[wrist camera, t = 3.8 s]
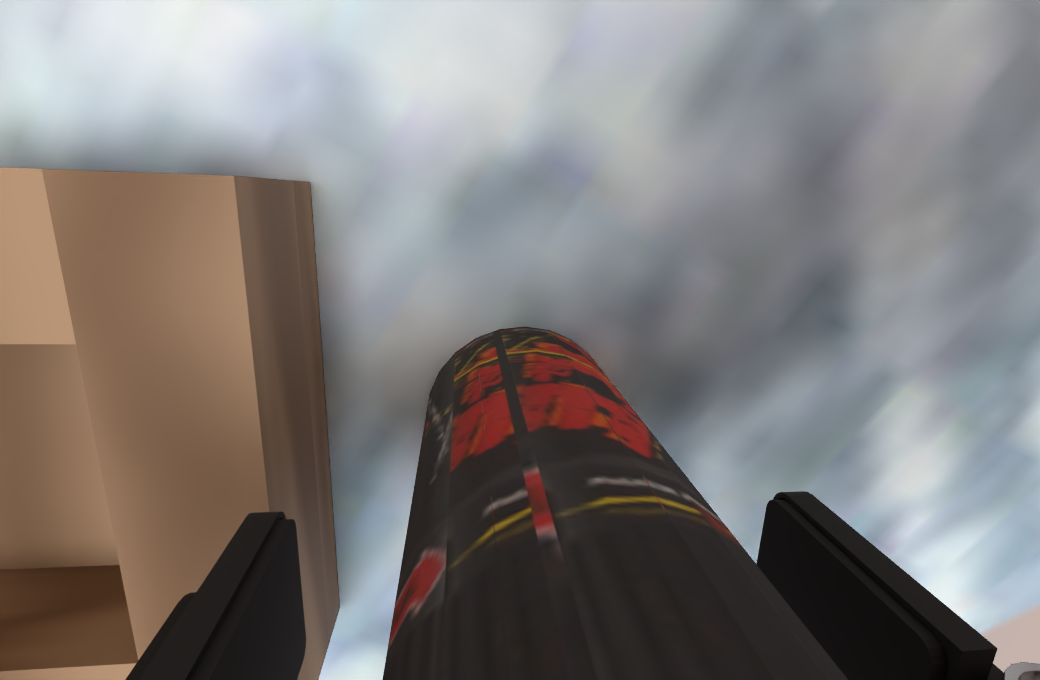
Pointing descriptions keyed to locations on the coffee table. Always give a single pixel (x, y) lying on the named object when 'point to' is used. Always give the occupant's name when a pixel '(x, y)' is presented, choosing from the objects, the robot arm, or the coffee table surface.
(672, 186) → the coffee table surface
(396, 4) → the coffee table surface
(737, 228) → the coffee table surface
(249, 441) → the socket block
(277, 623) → the robot arm
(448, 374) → the deodorant
